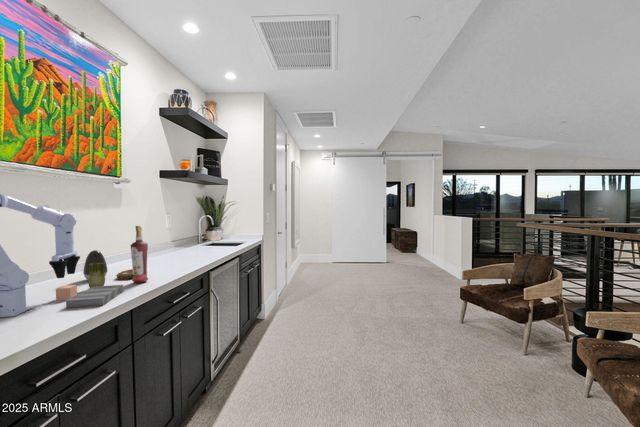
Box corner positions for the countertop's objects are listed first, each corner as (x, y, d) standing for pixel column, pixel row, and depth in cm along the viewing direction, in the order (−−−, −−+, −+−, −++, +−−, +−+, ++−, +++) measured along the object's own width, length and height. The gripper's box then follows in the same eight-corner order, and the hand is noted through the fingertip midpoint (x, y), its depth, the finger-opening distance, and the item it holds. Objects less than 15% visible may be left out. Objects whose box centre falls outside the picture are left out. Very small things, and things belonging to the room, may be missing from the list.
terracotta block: (70, 300, 124) (70, 287, 124) (56, 301, 123) (55, 288, 123) (77, 296, 129) (76, 284, 129) (63, 297, 128) (62, 285, 127)
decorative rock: (123, 275, 169) (114, 283, 155) (122, 268, 169) (113, 275, 155) (146, 273, 173) (139, 280, 158) (145, 265, 172) (138, 272, 158)
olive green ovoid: (83, 283, 152) (82, 252, 151) (83, 279, 160) (82, 250, 159) (108, 279, 158) (107, 250, 158) (107, 276, 166) (105, 248, 166)
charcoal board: (103, 305, 116) (102, 297, 116) (66, 308, 113) (65, 300, 113) (123, 291, 135) (123, 284, 135) (92, 293, 132) (92, 286, 132)
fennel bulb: (106, 287, 143) (105, 261, 143) (98, 290, 138) (97, 263, 138) (94, 287, 143) (93, 261, 143) (86, 290, 138) (85, 263, 138)
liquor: (152, 280, 154) (150, 225, 153) (140, 284, 147) (138, 226, 146) (140, 280, 156) (138, 225, 155) (128, 283, 149) (126, 226, 148)
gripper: (66, 244, 119) (67, 279, 119) (84, 240, 133) (86, 271, 134) (44, 245, 117) (46, 280, 118) (66, 241, 131) (67, 272, 132)
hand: (66, 275), depth 126 cm, fingers open, 7 cm apart
